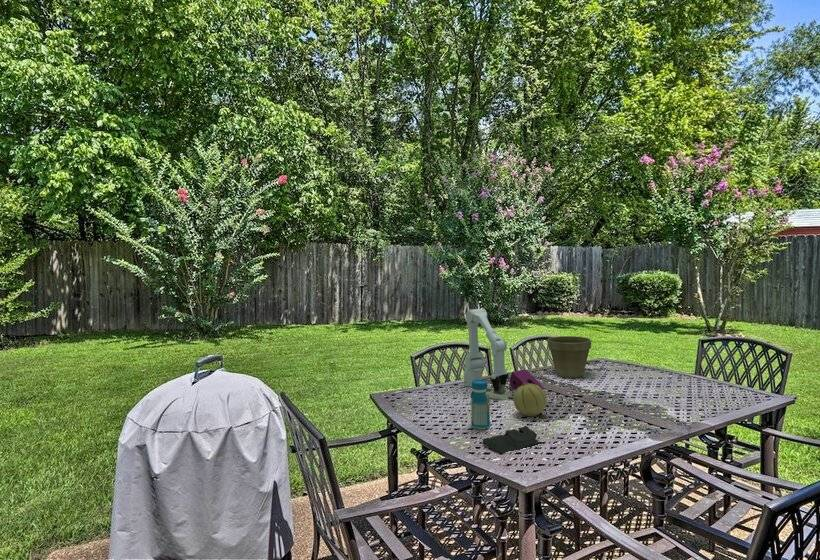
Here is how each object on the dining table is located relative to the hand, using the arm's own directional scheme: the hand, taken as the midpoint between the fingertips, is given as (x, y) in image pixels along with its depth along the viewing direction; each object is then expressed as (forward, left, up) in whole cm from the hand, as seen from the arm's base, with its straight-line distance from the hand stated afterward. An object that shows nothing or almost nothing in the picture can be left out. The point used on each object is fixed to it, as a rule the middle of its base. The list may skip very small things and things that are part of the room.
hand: (499, 389), depth 255 cm
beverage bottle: (+11, -43, -4) cm, 45 cm away
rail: (-5, 0, -4) cm, 6 cm away
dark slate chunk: (+29, -53, -5) cm, 61 cm away
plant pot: (+18, +59, -4) cm, 62 cm away
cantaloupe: (+24, -19, -4) cm, 31 cm away
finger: (0, 0, -3) cm, 3 cm away
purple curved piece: (+8, +18, -4) cm, 20 cm away
